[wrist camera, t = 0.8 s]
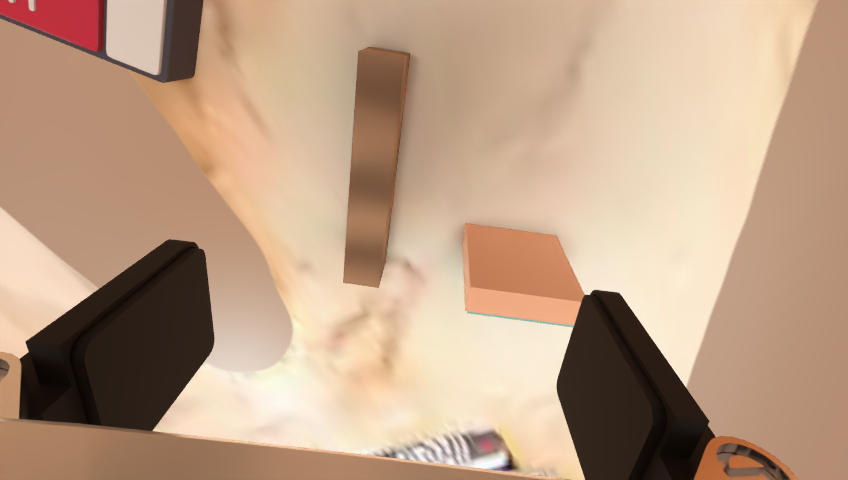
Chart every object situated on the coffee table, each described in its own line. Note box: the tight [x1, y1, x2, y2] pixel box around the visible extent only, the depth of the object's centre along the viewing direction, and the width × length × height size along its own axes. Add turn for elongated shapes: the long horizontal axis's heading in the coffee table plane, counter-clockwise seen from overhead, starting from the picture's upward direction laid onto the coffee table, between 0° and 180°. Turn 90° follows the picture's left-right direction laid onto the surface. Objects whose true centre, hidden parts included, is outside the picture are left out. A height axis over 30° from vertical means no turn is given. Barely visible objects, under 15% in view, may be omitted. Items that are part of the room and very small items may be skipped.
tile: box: [462, 223, 585, 327], centre depth 34 cm, size 2×8×10 cm, turn 83°
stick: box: [343, 47, 410, 288], centre depth 34 cm, size 18×3×4 cm, turn 172°
